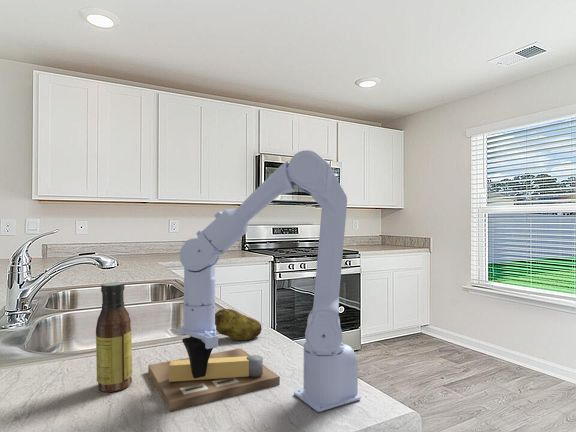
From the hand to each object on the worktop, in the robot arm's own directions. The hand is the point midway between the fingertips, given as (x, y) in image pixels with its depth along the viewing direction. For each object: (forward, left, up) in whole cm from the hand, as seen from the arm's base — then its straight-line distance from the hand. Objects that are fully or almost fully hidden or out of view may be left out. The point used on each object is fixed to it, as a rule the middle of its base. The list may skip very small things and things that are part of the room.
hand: (199, 376), depth 70 cm
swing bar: (-4, -1, -1) cm, 4 cm away
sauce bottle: (+13, -11, -3) cm, 17 cm away
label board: (-4, -5, -3) cm, 7 cm away
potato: (-19, -27, -3) cm, 33 cm away
